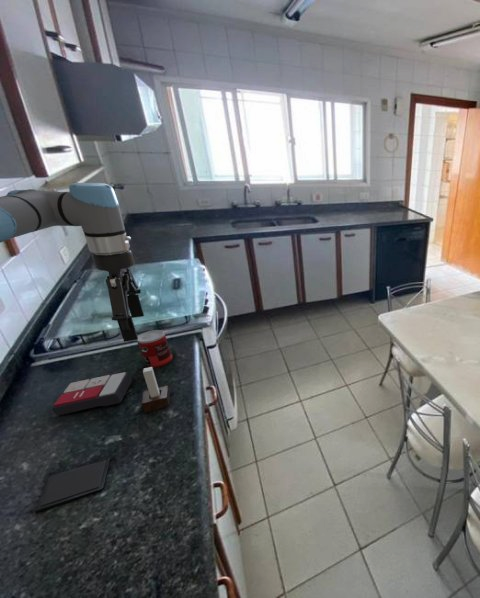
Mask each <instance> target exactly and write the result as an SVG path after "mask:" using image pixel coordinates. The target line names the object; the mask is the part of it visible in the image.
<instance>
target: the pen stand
mask: <svg viewBox="0 0 480 598" xmlns="http://www.w3.org/2000/svg"><path fill="white" fill-rule="evenodd" d="M158 388H159V391H160V395H161V396H158V397H153V398H151V396H150V393H149V390H148V389H146V390H143V393H142V399H141V407H142V410H143V412H144V414H146V413H150V412H153V411H157V410H160V409H163V408H164V409H165V408H167V407H170V400H171V392H170V387H169V385H164V386H160V387H159V386H158Z"/></svg>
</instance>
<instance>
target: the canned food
mask: <svg viewBox="0 0 480 598" xmlns="http://www.w3.org/2000/svg"><path fill="white" fill-rule="evenodd" d="M137 336H138V340H136V342H137V346H138V348H139V351H140V353H141V355H142V358H143V360H144V363H145V365H146V366H147V368H149V367H152V368H153V369H155V368H160V367H164V366H166V365H168V364H169V363H171V362H172V361H173V354H172V350H171V348H170V345H169V342H168V338H167V336H166V333H165V332H164V330H161V329H153V330H147V331H145V332H142V333H141V334H139V335H137Z"/></svg>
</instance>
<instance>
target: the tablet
mask: <svg viewBox="0 0 480 598" xmlns="http://www.w3.org/2000/svg"><path fill="white" fill-rule="evenodd" d="M110 464H111V457H110V458H106V459H103V460H99V461H95V462H93V463H89V464H85V465H82V466H79V467H76V468H72V469H69V470H65V471H62V472H59V473H55V474H52V475H49V476H48V478H47V480H46V482H45V485H44V487H43V489H42V492H41V494H40V497H39V499H38V502H37V504H36V506H35V509H34V513H35V514H37V513H38V514H39V513H42V512H44V511H47V510H50V509H54V508H56V507H59V506H62V505H66V504H68V503H72V502H74V501H78V500H80V499H83V498H85V497H88V496H91V495H94V494H96V493H100V492H102V491H104V488H105V485H106V481H107V476H108V473H109V468H110Z"/></svg>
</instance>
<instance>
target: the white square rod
mask: <svg viewBox="0 0 480 598" xmlns="http://www.w3.org/2000/svg"><path fill="white" fill-rule="evenodd" d="M142 374H143V377H144V380H145V384H146V386H147V390H149V393H150V396H151V398H153V397H158V396H161V395H160V391H159V385H158V382H157V378H156V375H155V371H154V368H152V367H145V368H143V369H142Z"/></svg>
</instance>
